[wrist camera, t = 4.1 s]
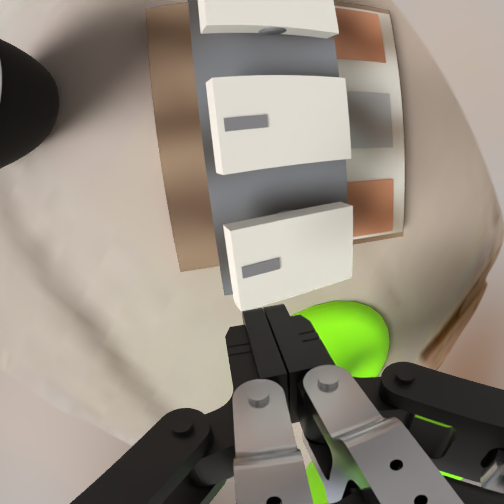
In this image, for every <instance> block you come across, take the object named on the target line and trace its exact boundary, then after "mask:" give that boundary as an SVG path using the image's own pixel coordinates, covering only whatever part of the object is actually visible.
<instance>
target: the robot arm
mask: <svg viewBox="0 0 504 504" xmlns="http://www.w3.org/2000/svg"><path fill="white" fill-rule="evenodd" d="M242 316H243V323H244V325H240V326H234V327H230V328H229V330H228V332H227V334H226V336H225V338H226V344H227V351H228V357H229V364H230V370H231V376H232V382H233V394H232V397H231V398H230V400H229V401H228V402H227V403H226V404H225V405H224V406H222V407H221V408H219V409H217V410H215V411H213V412H210V413H208V414H203V413H202V412H200V411H198V410H196V409H191V408H181V409H176V410H173V411H171V412H169V413H167V414H166V415H165V416H163V417H162V418H161V419H160V420H159V421H158V422H157V423H156V424H155V425H154V426H153V427H152V428H151V429H150V430H149V431H148V432H147V433H146V434H145V435H144V436H143V437H142V438H141V439H140V440H139V441H138V442H137V443H136V444H135V445H134V446H132V447H131V448H130V449H129V450H128V451H127V452H126V453H125V454H124V455H123V456H122V457H121V458H120V459H119V460H118V461H117V462H116V463H114V464H113V465H112V466H111V467H110V468H109V469H108V470H107V471H106V472H105V473H104V474H103V475H101V477H99V478H98V479H97V480H96V481H95V482H94V483H93V484H92V485H90V486H89V487H88V488H87V489H86V490H85V491H84V492H82V493H81V494H80V495H79V496H78V497H77V498H76V499H75V500H73V501H72V502H71V503H70V504H209V503H210V502H211V501H212V499H213V498H214V497H215V496H216V494H217V493H218V492H219V490H220V489H221V488H222V486H223V485H224V484H225V482H226V480H227V479H228V478H231V477H233V476H234V483H235V498H236V504H314V503H313V499H312V495H311V491H310V487H309V482H308V478H307V474H306V470H305V466H304V461H303V457H302V454H301V451H300V449H298V448H297V445H296V441H295V437H294V433H293V428H292V424H291V423H296V422H300V424H301V427H302V430H303V433H302V438H303V442H304V444H305V447H306V449H307V451H308V453H309V455H310V457H311V459H312V461H313V463H314V466H315V468H316V470H317V472H318V474H319V476H320V478H321V480H322V482H323V485H324V487H325V491H326V497H327V501H328V504H504V390H501V389H498V388H495V387H491V386H487V385H484V384H480V383H476V382H473V381H469V380H466V379H462V378H459V377H456V376H452V375H449V374H445V373H442V372H439V371H436V370H433V369H429V368H426V367H423V366H420V365H417V364H413V363H410V362H397V363H393V364H391V365H389V366H388V367H386V368H385V369H384V371H383V373H382V376H381V377H366V378H360V377H353V376H352V375H351V374H350V373H349V372H348V371H347V370H346V369H344V368H342V367H339V366H336V365H335V363H334V361H333V359H332V358H331V356H330V354H329V352H328V351H327V349H326V347H325V346H324V344H323V342H322V340H321V339H320V337H319V335H318V333H317V332H316V330H315V328H314V327H313V325H312V323H311V321H309V320H308V319H306V318H305V317H303V316H302V315H296V316H290V315H289V313H288V311H287V309H286V307H285V305H284V304H280V305H275V306H269V307H264V308H258V309H252V310H246V311H242ZM415 415H418V416H421V417H424V418H427V419H430V420H433V421H436V422H439V423H442V424H446V425H449V426H451V427H444V426H441V425H438V424H435V423H432V422H429V421H426V420H423V419H420V418H417V417H415ZM440 471H442V472H445V473H448V474H452V475H455V476H458V477H462V478H465V479H469V480H472V481H476V482H480V483H481V486H482V487H479V486H476V485H472V484H469V483H466V482H463V481H460V480H457V479H454V478H451V477H448V476H444V475H442V474H441V473H440Z"/></svg>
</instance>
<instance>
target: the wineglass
mask: <svg viewBox="0 0 504 504" xmlns="http://www.w3.org/2000/svg"><path fill="white" fill-rule="evenodd" d="M296 315H302V316H303V317H305V318H306V319H308V320H309V321H311V323H312V325H313V327H314V328H315V330H316V332H317V333H318V335H319V337H320V339H321V340H322V342H323V344H324V346H325V347H326V349H327V351H328V352H329V354H330V356H331V358H332V359H333V361H334V363H335V365H336V366H339V367H342V368H344V369H346V370H347V371H348V372H349V373H350V374H351V375H352V376H353V377H360V378H366V377H377V376H378V375H379V373H380V372H381V370H382V368H383V366H384V363H385V361H386V359H387V356H388V350H389V345H390V340H389V333H388V327H387V325H386V324H385V322H384V320H383V318H382V316H381V315H380V314H379V313H377V312H376V311H375V310H374V309H372V308H371V307H370V306H367V305H364V304H361V303H358V302H355V301H332V302H328V303H323V304H319V305H314V306H312V307H310V308H307V309H305V310H303V311H301V312H298V313H296V314H294V315H292V316H296ZM415 417H417V418H420V419H423V420H426V421H429V422H432V423H435V424H438V425H441V426H444V427H451V426H449V425H446V424H442V423H439V422H436V421H433V420H430V419H427V418H424V417H421V416H418V415H415ZM440 473H441V474H442V475H444V476H448V477H451V478H454V479H457V480H461V479H462V477H458V476H455V475H452V474H448V473H445V472H442V471H440ZM306 474H307V478H308V482H309V487H310V491H311V495H312V499H313V503H314V504H328V501H327V497H326V491H325V487H324V485H323V482H322V480H321V478H320V476H319V474H318V472H317V470H316V468H315V466H314V463H313V461H311V462H310V463H309V465H308V467H307V469H306Z"/></svg>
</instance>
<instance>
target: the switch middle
mask: <svg viewBox="0 0 504 504" xmlns="http://www.w3.org/2000/svg"><path fill="white" fill-rule="evenodd" d="M206 90H207V99H208V108H209V117H210V125H211V134H212V142H213V150H214V159H215V167H216V173H218V174H221V175H227V174H233V173H239V172H246V171H253V170H259V169H266V168H274V167H281V166H289V165H297V164H305V163H314V162H323V161H333V160H343V159H351V141H350V126H349V113H348V102H347V91H346V82H345V78H339V77H324V76H302V75H252V76H230V77H215V78H211V79H210V80H209V81H207V82H206Z"/></svg>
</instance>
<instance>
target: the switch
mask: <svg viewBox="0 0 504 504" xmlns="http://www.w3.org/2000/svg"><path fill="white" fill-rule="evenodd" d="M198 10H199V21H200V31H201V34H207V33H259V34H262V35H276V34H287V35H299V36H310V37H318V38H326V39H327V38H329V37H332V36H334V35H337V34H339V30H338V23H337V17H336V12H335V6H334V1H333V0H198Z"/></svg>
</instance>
